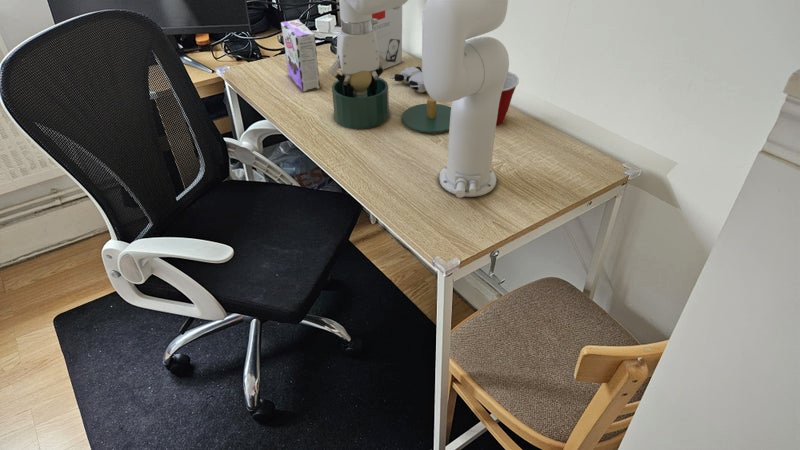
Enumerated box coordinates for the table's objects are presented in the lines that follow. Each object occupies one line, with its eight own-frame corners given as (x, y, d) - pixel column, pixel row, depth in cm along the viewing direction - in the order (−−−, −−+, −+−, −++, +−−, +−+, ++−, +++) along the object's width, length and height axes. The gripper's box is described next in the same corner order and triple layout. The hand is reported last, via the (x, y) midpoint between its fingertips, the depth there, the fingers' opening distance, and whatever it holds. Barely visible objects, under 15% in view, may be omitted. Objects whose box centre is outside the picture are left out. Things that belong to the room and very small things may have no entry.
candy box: (287, 75, 161) (279, 21, 150) (305, 71, 163) (299, 18, 152) (302, 92, 151) (294, 36, 141) (321, 88, 153) (315, 32, 143)
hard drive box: (368, 76, 160) (365, 10, 147) (351, 70, 164) (347, 4, 151) (403, 62, 168) (402, -2, 156) (386, 56, 172) (384, -7, 160)
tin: (383, 130, 133) (382, 100, 128) (328, 126, 135) (325, 96, 130) (392, 105, 144) (392, 76, 139) (341, 102, 146) (339, 73, 141)
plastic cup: (463, 121, 137) (466, 78, 129) (488, 107, 143) (492, 66, 135) (496, 135, 131) (502, 91, 124) (521, 121, 137) (527, 77, 129)
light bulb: (369, 108, 134) (367, 71, 128) (345, 106, 135) (343, 69, 129) (375, 97, 139) (374, 61, 133) (352, 95, 140) (350, 59, 134)
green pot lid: (458, 137, 131) (460, 115, 127) (397, 132, 133) (397, 111, 129) (462, 108, 143) (463, 88, 139) (406, 105, 145) (406, 84, 141)
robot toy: (387, 86, 156) (420, 99, 146) (386, 71, 153) (420, 84, 144) (418, 75, 162) (451, 87, 153) (417, 61, 159) (451, 72, 150)
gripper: (384, 16, 130) (386, 84, 141) (317, 25, 125) (324, 94, 136) (395, 26, 124) (396, 95, 136) (325, 35, 119) (332, 106, 131)
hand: (360, 94), depth 136 cm, fingers closed on light bulb, 6 cm apart
